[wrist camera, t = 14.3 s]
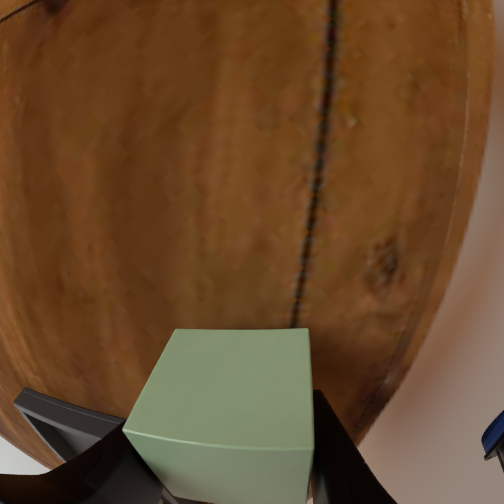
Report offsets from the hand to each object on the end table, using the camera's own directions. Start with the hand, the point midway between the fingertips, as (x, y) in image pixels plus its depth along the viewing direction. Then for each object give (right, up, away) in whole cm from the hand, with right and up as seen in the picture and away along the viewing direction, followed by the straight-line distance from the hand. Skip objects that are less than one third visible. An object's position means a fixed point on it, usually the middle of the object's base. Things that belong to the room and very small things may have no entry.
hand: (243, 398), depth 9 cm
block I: (0, 0, +1) cm, 1 cm away
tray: (-11, -14, +10) cm, 20 cm away
